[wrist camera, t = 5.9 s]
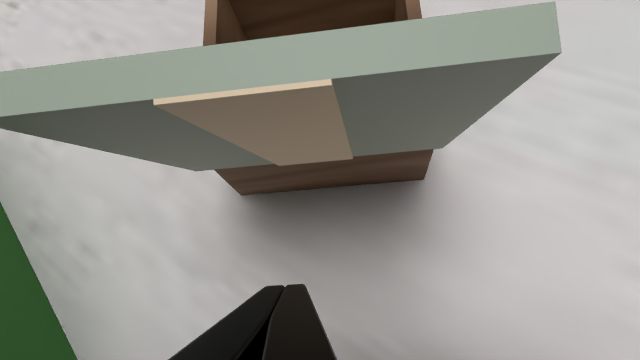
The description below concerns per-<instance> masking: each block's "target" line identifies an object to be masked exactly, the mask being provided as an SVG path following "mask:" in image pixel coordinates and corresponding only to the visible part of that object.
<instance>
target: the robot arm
mask: <svg viewBox="0 0 640 360" xmlns="http://www.w3.org/2000/svg"><path fill="white" fill-rule="evenodd" d="M168 360H337V358H336V356H335V353H334V351H333V349H332V347H331V344H330V342H329V340H328V337H327V335H326V333H325V330H324V328H323V326H322V323H321V321H320V319H319V316H318V314H317V312H316V309H315V307H314V305H313V302H312V300H311V298H310V295H309V293H308V291H307V288H306V286H305V285H304V284H295V285H287V286H286V287H284V286H282V285H278V286H266V287H264V288H263V289H261V290H260V291H259V292H257V293H256V294H255V295H253V296H252V297H251V298H250V299H248V300H247V301H246V302H244V303H243V304H242V305H240V306H239V307H238V308H236V309H235V310H234V311H232V312H231V313H230V314H228V315H227V316H226V317H224V318H223V319H222V320H220V321H219V322H218V323H216V324H215V325H214V326H212V327H211V328H210V329H208V330H207V331H206V332H204V333H203V334H202V335H200V336H199V337H198V338H196V339H195V340H194V341H192V342H191V343H190V344H188V345H187V346H186V347H184V348H183V349H182V350H180V351H179V352H178V353H176V354H175V355H174V356H172V357H171V358H170V359H168Z"/></svg>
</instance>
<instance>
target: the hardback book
mask: <svg viewBox="0 0 640 360" xmlns="http://www.w3.org/2000/svg"><path fill="white" fill-rule="evenodd" d="M0 360H77V358H76V356H75V354H74V352H73V349H72V347H71V345H70V343H69V341H68V339H67V337H66V335H65V333H64V331H63V329H62V327H61V325H60V323H59V321H58V319H57V317H56V315H55V313H54V311H53V309H52V307H51V305H50V303H49V301H48V298H47V296H46V294H45V292H44V290H43V288H42V286H41V284H40V282H39V280H38V278H37V276H36V274H35V272H34V270H33V268H32V266H31V264H30V262H29V260H28V258H27V256H26V254H25V252H24V250H23V248H22V245H21V243H20V241H19V239H18V237H17V235H16V233H15V231H14V229H13V227H12V225H11V223H10V221H9V219H8V217H7V215H6V213H5V211H4V209H3V207H2V205H1V203H0Z"/></svg>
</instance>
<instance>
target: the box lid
mask: <svg viewBox="0 0 640 360" xmlns="http://www.w3.org/2000/svg"><path fill="white" fill-rule="evenodd" d="M560 53H562V51H561V43H560V36H559V28H558V20H557V12H556V4H555V2H548V3H540V4H532V5H524V6H516V7H508V8H500V9H492V10H485V11H477V12H469V13H461V14H453V15H445V16H437V17H429V18H422V19H414V20H406V21H398V22H390V23H382V24H374V25H366V26H358V27H351V28H343V29H335V30H327V31H319V32H311V33H303V34H295V35H288V36H280V37H272V38H264V39H256V40H248V41H240V42H232V43H224V44H217V45H209V46H201V47H193V48H185V49H177V50H169V51H161V52H154V53H146V54H138V55H130V56H122V57H114V58H106V59H98V60H90V61H83V62H75V63H67V64H59V65H51V66H43V67H35V68H27V69H20V70H12V71H4V72H0V128H1V129H6V130H10V131H15V132H20V133H24V134H29V135H33V136H38V137H42V138H47V139H52V140H56V141H61V142H65V143H70V144H74V145H79V146H83V147H88V148H93V149H97V150H102V151H106V152H111V153H115V154H120V155H125V156H129V157H134V158H138V159H143V160H147V161H152V162H157V163H161V164H166V165H170V166H175V167H179V168H184V169H189V170H193V171H204V170H214V169H225V168H236V167H246V166H257V165H268V164H276V165H278V166H283V165H294V164H305V163H316V162H326V161H337V160H348V159H353V156H364V155H375V154H385V153H396V152H407V151H417V150H428V149H439V148H443V147H445V146H446V145H447V144H448V143H450V142H451V141H452V140H453V139H455V138H456V137H457V136H458V135H460V134H461V133H462V132H463V131H465V130H466V129H467V128H468V127H470V126H471V125H472V124H473V123H475V122H476V121H477V120H478V119H479V118H481V117H482V116H483V115H484V114H486V113H487V112H488V111H489V110H491V109H492V108H493V107H494V106H496V105H497V104H498V103H499V102H501V101H502V100H503V99H504V98H506V97H507V96H508V95H509V94H511V93H512V92H513V91H514V90H516V89H517V88H518V87H519V86H521V85H522V84H523V83H524V82H526V81H527V80H528V79H529V78H531V77H532V76H533V75H534V74H536V73H537V72H538V71H539V70H540V69H542V68H543V67H544V66H545V65H547V64H548V63H549V62H550V61H552V60H553V59H554V58H555V57H557V56H558V55H559V54H560Z"/></svg>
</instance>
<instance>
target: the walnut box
mask: <svg viewBox="0 0 640 360" xmlns="http://www.w3.org/2000/svg"><path fill="white" fill-rule="evenodd" d="M414 19H422V15H421V9H420V2H419V0H206V1H205V19H204V38H203V46H209V45H217V44H224V43H232V42H240V41H248V40H256V39H264V38H272V37H280V36H288V35H295V34H303V33H311V32H319V31H327V30H335V29H343V28H351V27H358V26H366V25H374V24H382V23H390V22H398V21H406V20H414ZM433 150H434V149H428V150H417V151H407V152H396V153H385V154H375V155H364V156H353V159H348V160H337V161H326V162H316V163H305V164H294V165H283V166H278V165H276V164H268V165H257V166H246V167H236V168H225V169H214V170H215V171H216V172H217V173H218V174H219V175H220V176H221V177H222V178H223V179H224V180H225V181H226V182H228V183H229V184H230V185H231V186H232V187H233V188H234V189H235V190H236V191H237V192H238V193H239V194H240V195H249V194H260V193H272V192H284V191H295V190H307V189H318V188H330V187H341V186H353V185H365V184H376V183H388V182H399V181H411V180H423V179H424V177H425V174H426V171H427V168H428V165H429V162H430V159H431V156H432V153H433Z"/></svg>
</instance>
